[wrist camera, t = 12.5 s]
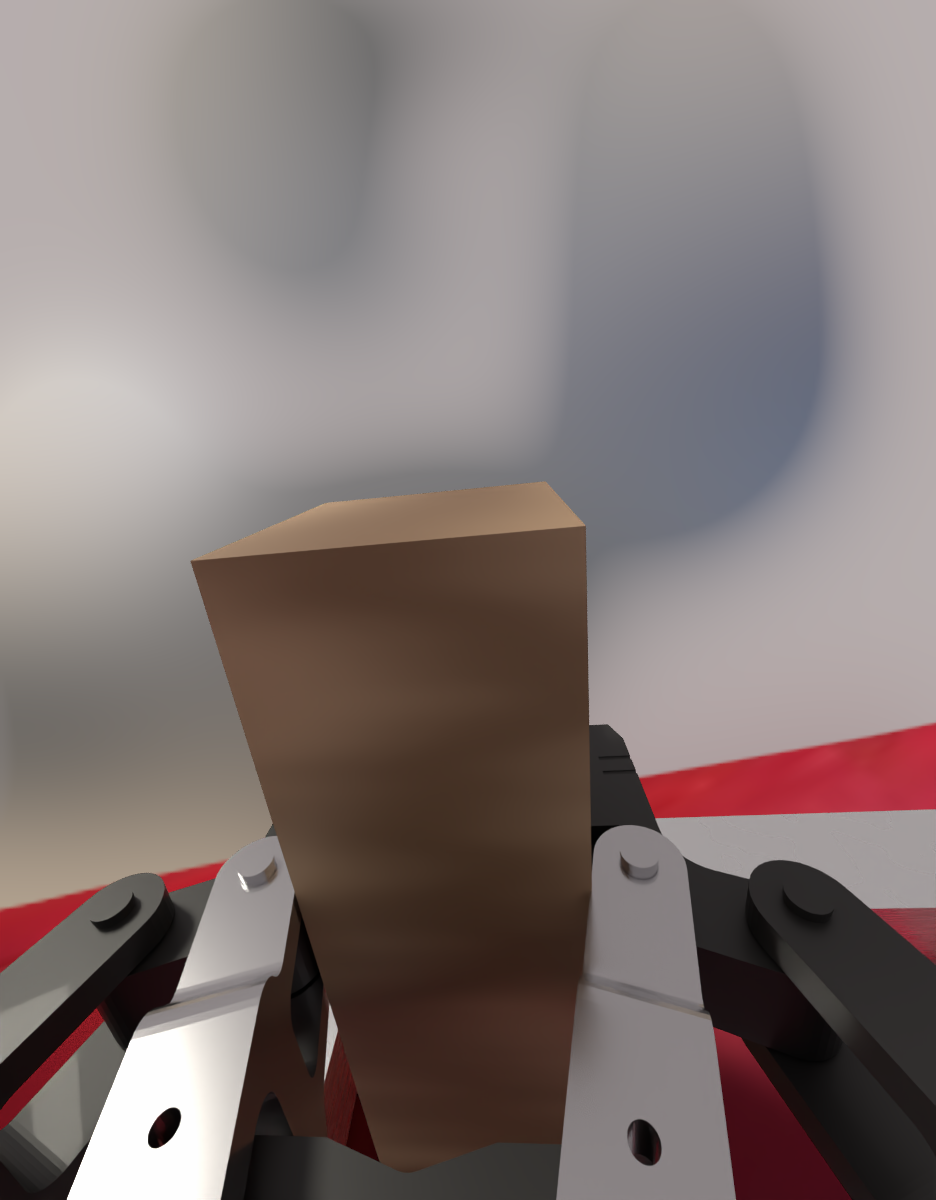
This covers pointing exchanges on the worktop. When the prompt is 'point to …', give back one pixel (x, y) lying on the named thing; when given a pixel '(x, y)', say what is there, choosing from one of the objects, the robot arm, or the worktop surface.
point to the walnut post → (427, 791)
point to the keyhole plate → (737, 846)
